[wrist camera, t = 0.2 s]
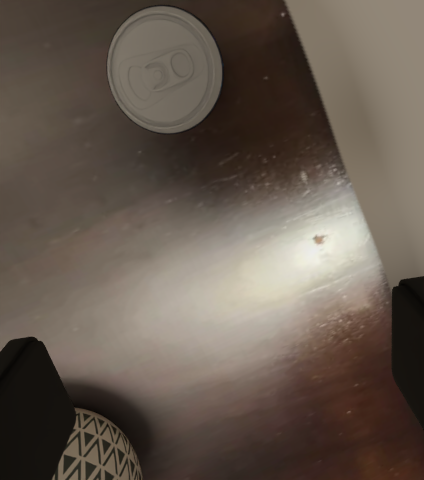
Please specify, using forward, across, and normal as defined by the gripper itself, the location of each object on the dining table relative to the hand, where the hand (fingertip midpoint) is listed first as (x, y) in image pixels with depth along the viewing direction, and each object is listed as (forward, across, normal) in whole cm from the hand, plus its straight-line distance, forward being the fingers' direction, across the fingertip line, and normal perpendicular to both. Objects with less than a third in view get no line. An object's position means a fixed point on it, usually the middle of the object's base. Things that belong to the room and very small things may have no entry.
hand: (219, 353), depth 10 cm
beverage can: (+22, +1, -7) cm, 24 cm away
